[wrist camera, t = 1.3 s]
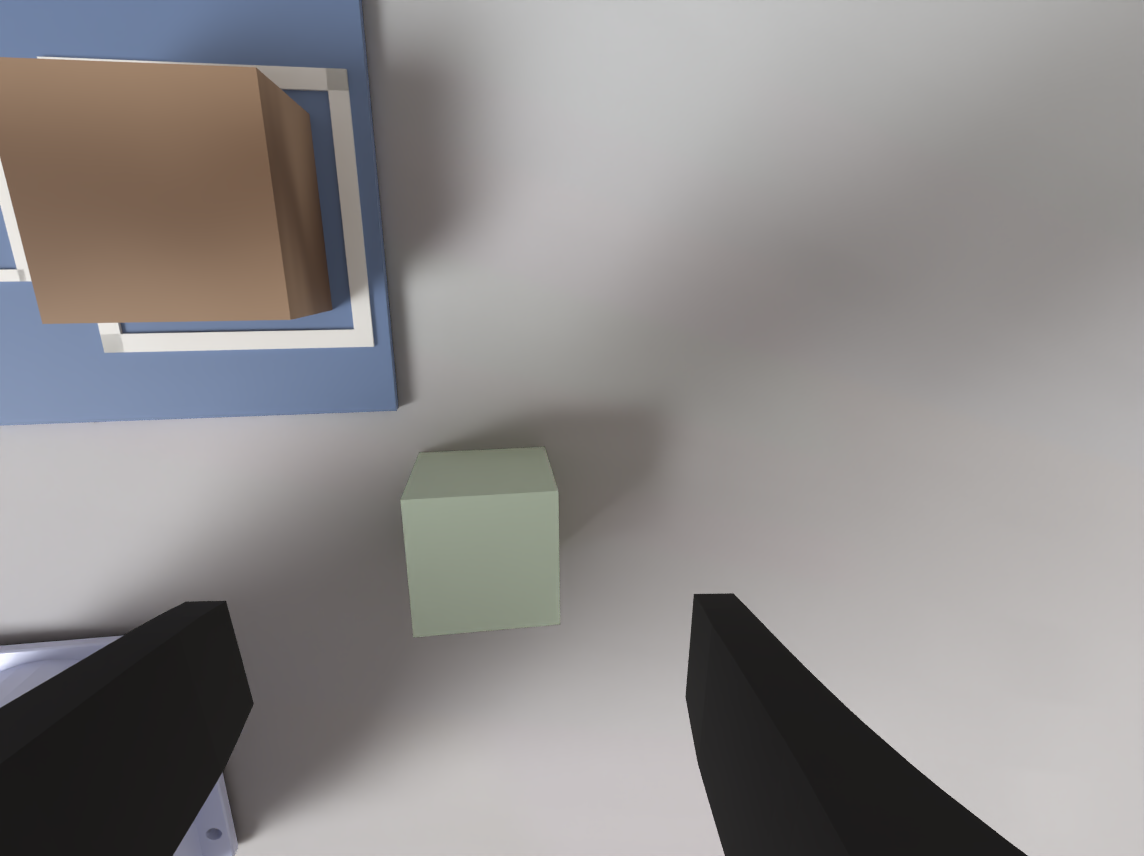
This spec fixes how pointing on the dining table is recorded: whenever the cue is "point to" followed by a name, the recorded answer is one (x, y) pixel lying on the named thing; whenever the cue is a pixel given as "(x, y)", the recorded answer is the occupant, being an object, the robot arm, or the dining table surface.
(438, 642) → the dining table surface
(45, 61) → the brown block
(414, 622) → the sage cube
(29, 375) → the blueprint mat
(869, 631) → the dining table surface
